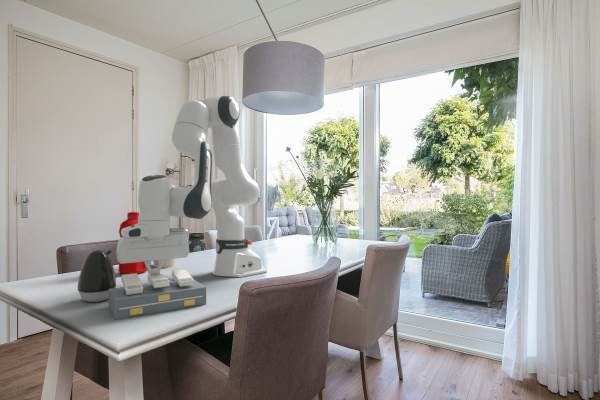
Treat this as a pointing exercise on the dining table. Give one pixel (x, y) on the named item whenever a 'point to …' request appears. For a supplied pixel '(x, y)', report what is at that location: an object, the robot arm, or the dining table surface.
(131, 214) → the water bottle
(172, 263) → the reusable coffee cup
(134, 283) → the rocker
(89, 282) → the black rounded dome
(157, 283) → the block
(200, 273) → the dining table surface
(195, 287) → the console
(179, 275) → the rocker
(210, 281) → the dining table surface
